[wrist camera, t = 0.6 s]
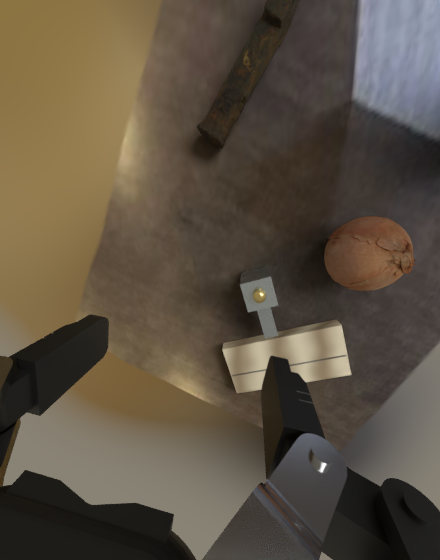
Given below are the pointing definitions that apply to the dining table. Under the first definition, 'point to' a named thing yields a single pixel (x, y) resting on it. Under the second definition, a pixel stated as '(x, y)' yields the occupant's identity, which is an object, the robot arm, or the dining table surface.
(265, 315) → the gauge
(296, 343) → the board
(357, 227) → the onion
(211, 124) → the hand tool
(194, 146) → the dining table surface
